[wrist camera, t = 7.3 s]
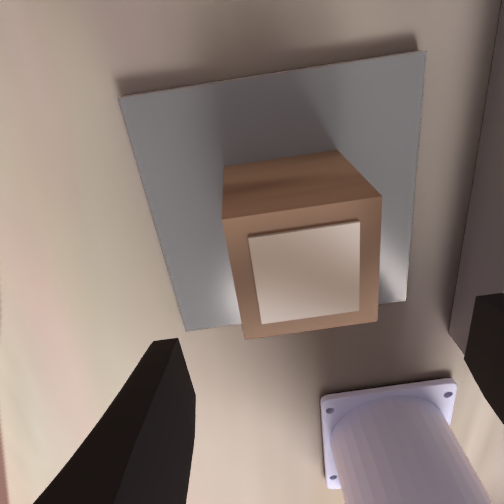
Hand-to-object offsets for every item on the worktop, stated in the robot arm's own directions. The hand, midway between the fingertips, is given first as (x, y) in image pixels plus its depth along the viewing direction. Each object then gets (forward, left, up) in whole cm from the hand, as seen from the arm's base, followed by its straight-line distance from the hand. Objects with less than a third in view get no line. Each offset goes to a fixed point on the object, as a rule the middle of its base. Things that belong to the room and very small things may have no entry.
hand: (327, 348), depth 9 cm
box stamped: (0, 0, -8) cm, 8 cm away
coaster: (0, 0, -8) cm, 8 cm away
